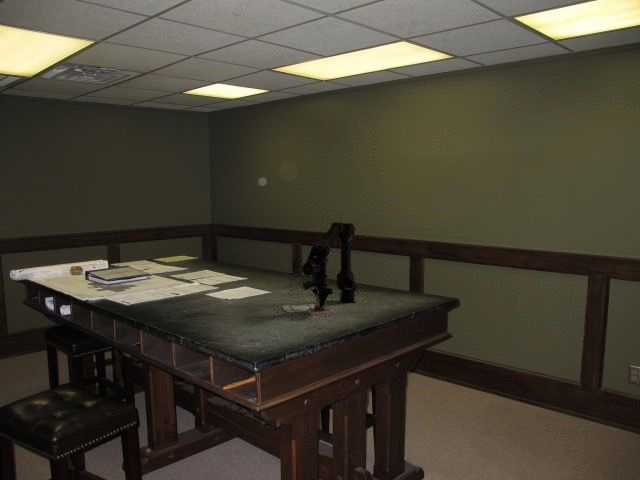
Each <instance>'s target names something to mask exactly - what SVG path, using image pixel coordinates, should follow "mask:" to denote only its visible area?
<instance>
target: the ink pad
mask: <svg viewBox="0 0 640 480" xmlns="http://www.w3.org/2000/svg"><path fill="white" fill-rule="evenodd" d="M306 312H307V313H308V314H309V315H310V316H321V315H322V316H323V315H325V316H326V315H333V314H334V311H333V310H332V309H330V307H327V306H325V310H323V311H317V310H314V308H309V309H307V311H306Z"/></svg>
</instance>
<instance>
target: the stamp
mask: <svg viewBox="0 0 640 480" xmlns="http://www.w3.org/2000/svg"><path fill="white" fill-rule="evenodd" d="M325 307H326V305H325V304H324V305H323V307H320V305H319V298H318V295H316V298H315V306H314V310H317V311H323V310H325Z"/></svg>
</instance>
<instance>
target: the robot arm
mask: <svg viewBox="0 0 640 480" xmlns="http://www.w3.org/2000/svg"><path fill="white" fill-rule="evenodd" d="M355 231H356V227H355V225H354V223H352V222H338V221H334V222H331V224H330V227H329V229H328V230H327V231H326V233H325V234H324V236H323V237H322V239H321V240H318V241H317V242H315V243H314V244H313V245H312V247H311V249H310V251H309V254H308V256H307V259H306V260H305V263H304V264H303V265H302V268H301V270H302V273H303V274H304V275H305V276H309V278H307V279H305V280H302V281H301V282H300V283H301V287H302V289H304V291H307V290H309V289H310V291H311V292H312V293H313V294H314V297H315V299H316V295H318V298H319V305H320V307H323V305H324V306H325V302H326V300H327V299H328V296H330V295H333V294H334V293H333V288H332V287H330V286H328V283H327V278H328V274H327V263H328V262H329V259H328V256H329V255H330V252H331V246H332V244H333V243H334V241H335V240H336V238H337V237H338V239H339V240H340V270H339V272H338V273H337V274H336V286H337V290H340V292H339V302H341V303H342V304H354V303H355V304H356V301H355V292H357V290H358V284H357V282H356V280H355V275H354V273H353V271H352V269H351V267H352V265H351V264H352V263H351V262H352V250H351V249H352V245H351V244H352V243H351V242H352V240H353V238H354V237H355ZM310 276H311V277H310Z"/></svg>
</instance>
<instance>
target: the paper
mask: <svg viewBox="0 0 640 480" xmlns="http://www.w3.org/2000/svg"><path fill="white" fill-rule="evenodd" d="M315 305H316V303H307V304H306V303H305V304H293V305H291V304H290V305H282V306H281V308H282V309H284V311H285V312H286V313H288V314H289V313H300V312H307V309H309V308H314V306H315Z"/></svg>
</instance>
